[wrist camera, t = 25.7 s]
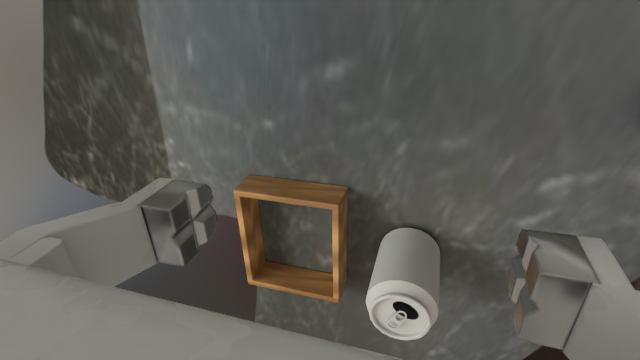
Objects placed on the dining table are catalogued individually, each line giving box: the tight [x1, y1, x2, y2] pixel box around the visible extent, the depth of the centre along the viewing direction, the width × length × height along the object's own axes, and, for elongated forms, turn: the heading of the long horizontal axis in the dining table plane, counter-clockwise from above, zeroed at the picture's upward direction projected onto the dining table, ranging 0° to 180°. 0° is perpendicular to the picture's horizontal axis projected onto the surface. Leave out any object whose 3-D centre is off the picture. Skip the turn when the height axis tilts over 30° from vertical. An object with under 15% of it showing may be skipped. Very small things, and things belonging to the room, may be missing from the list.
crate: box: [233, 175, 348, 303], centre depth 49 cm, size 16×14×4 cm
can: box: [366, 228, 440, 340], centre depth 42 cm, size 8×8×12 cm
